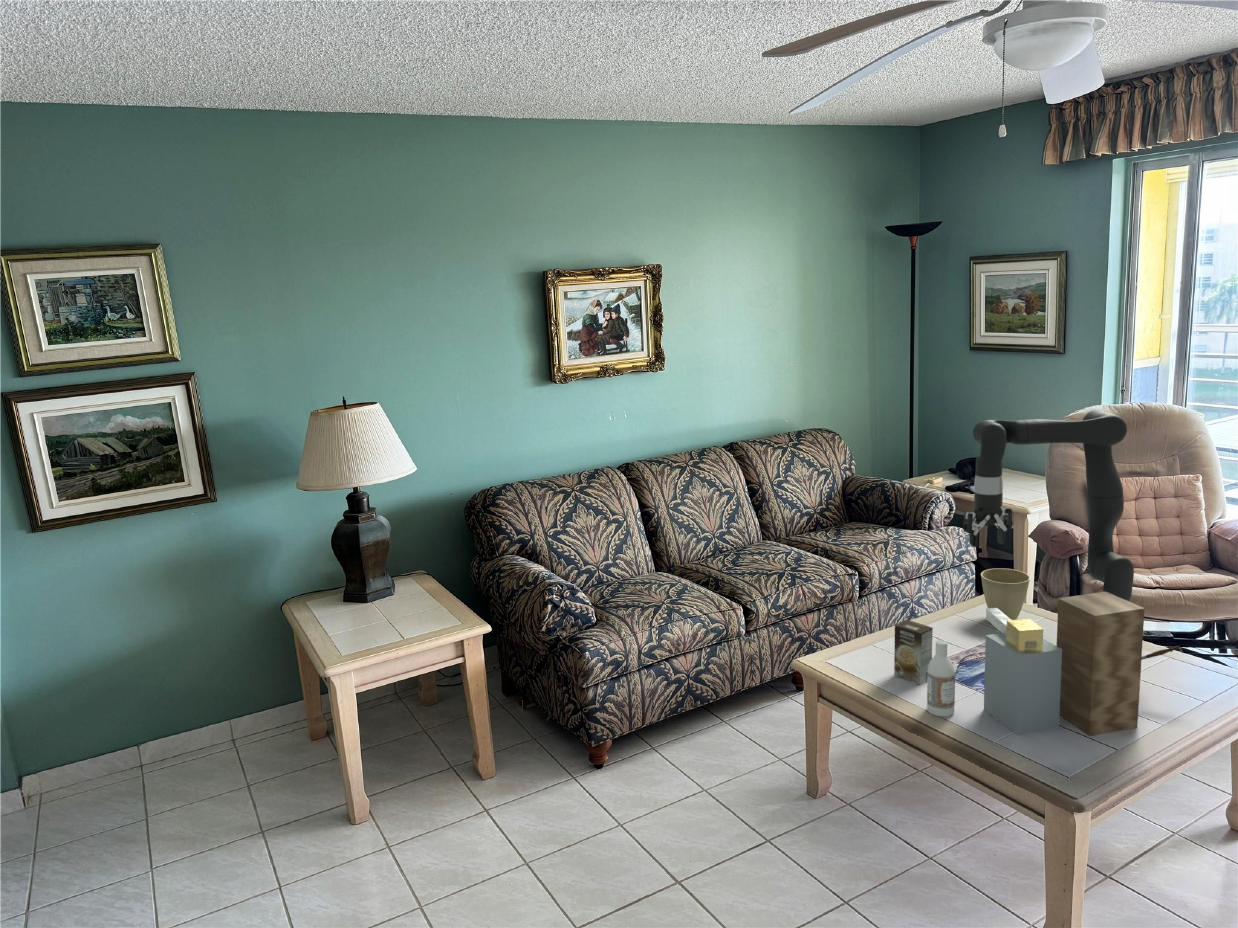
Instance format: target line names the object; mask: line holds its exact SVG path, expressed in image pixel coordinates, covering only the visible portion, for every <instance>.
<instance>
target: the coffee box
mask: <svg viewBox="0 0 1238 928" xmlns="http://www.w3.org/2000/svg"><path fill="white" fill-rule="evenodd" d="M933 630H934V628H933V627H932V626H930V625H929V626H928V625H926V624H922V623H919V622H915V621H913V620H910V619H907V618H906V619H904V620H903V621H900V622H899V623H897V624H895V625H894V653H893V655H894V657H893V658H894V659H893V660H894V662H893V663H894V667H893V668H894V670H893V671H894V672H893V673H894V674H893V675H894V676H896V677H897V678H900V679H902V680H905V681H908V682H911V683H915V684H917V685H919V686H920V685H922V684H924V683H927V670H928V665H929V662H930V661H931V659H932V658H933V632H934V631H933Z"/></svg>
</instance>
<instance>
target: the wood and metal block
mask: <svg viewBox="0 0 1238 928" xmlns="http://www.w3.org/2000/svg"><path fill="white" fill-rule="evenodd" d="M985 620H987V621H988V622H989V623H990V624H992V626H994V627H995V628H996V630H998V631H999V633H1003V634H1004V635H1005V636H1006V642H1007V643H1008V644H1009V645H1010V646H1011V647H1012V648H1013V649H1015V650H1016V651H1017V652H1018V653H1028V652H1042V650H1043V639H1044V628H1042V627H1041V626H1040V625H1038V624H1037V622H1036V621H1033V620H1032V619H1031V618H1024V619H1023V618H1021V619H1019V618H1018V619H1017V620H1011V619H1010V618H1009V617H1007V616H1006V615H1005V614H1004V613H1003V612H1001V611H1000V610H999V609H998V608H988V607H987V608H986V609H985Z"/></svg>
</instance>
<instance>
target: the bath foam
mask: <svg viewBox="0 0 1238 928" xmlns="http://www.w3.org/2000/svg"><path fill="white" fill-rule="evenodd" d="M926 683H927V685H926V688H927V689H926V691H927V692H926V693H927V694H926V702H927V703H926V709H927V711H928V713H929V714H930V715H933V716H935V717H940V718H942V717H943V718H946V717H947V718H948V717H950V716H953V715H954V713H955V703H956V702H955V701H956V699H955V698H956V697H955V695H956V693H955V692H956V668H955V665H954V663H953V661H952V660H951V658H950V657H949V655H948V642H947V641H946V640H941V639H940V640H939V639H938V640H936V641H935V654H934V655H933V656H932V659H931V661H930V662H929V665H928V670H927V681H926Z"/></svg>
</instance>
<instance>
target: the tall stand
mask: <svg viewBox="0 0 1238 928" xmlns="http://www.w3.org/2000/svg"><path fill="white" fill-rule="evenodd" d="M1057 603H1058V604H1057V622H1056V623H1057V627H1056V628H1057V629H1056V646H1057V647H1059V648H1061V649H1062V664H1061V688H1060V713H1059V718H1061V719H1063V720H1064V721H1066V722H1067V723H1069V724H1070V725H1072V726H1073V727H1075V728H1077V729H1078V730H1079V731H1081V732H1083V733H1084V734H1085V735H1087V737H1088V736H1089V737H1092V736H1097V735H1102V734H1110V733H1116V732H1121V731H1124V730H1130V729H1135V728H1138V726H1139V725H1138V722H1139V721H1138V720H1139V710H1140V709H1139V708H1140V707H1139V706H1140V705H1139V703H1140V693H1141V692H1140V690H1141V674H1142V672H1141V671H1142V660H1141V659H1142V656H1143V641H1144V640H1143V639H1144V627H1145V626H1144V623H1145V607H1142V606H1141V605H1138V604H1135V603H1134V602H1131V601H1126V600H1124V599H1122V598H1119V597H1117V596H1115V595H1113V594H1110V593H1108V592H1106V591H1105V592H1103V591H1099V592H1093V593H1085V594H1081V595H1073V596H1066V597H1058V599H1057Z"/></svg>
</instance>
